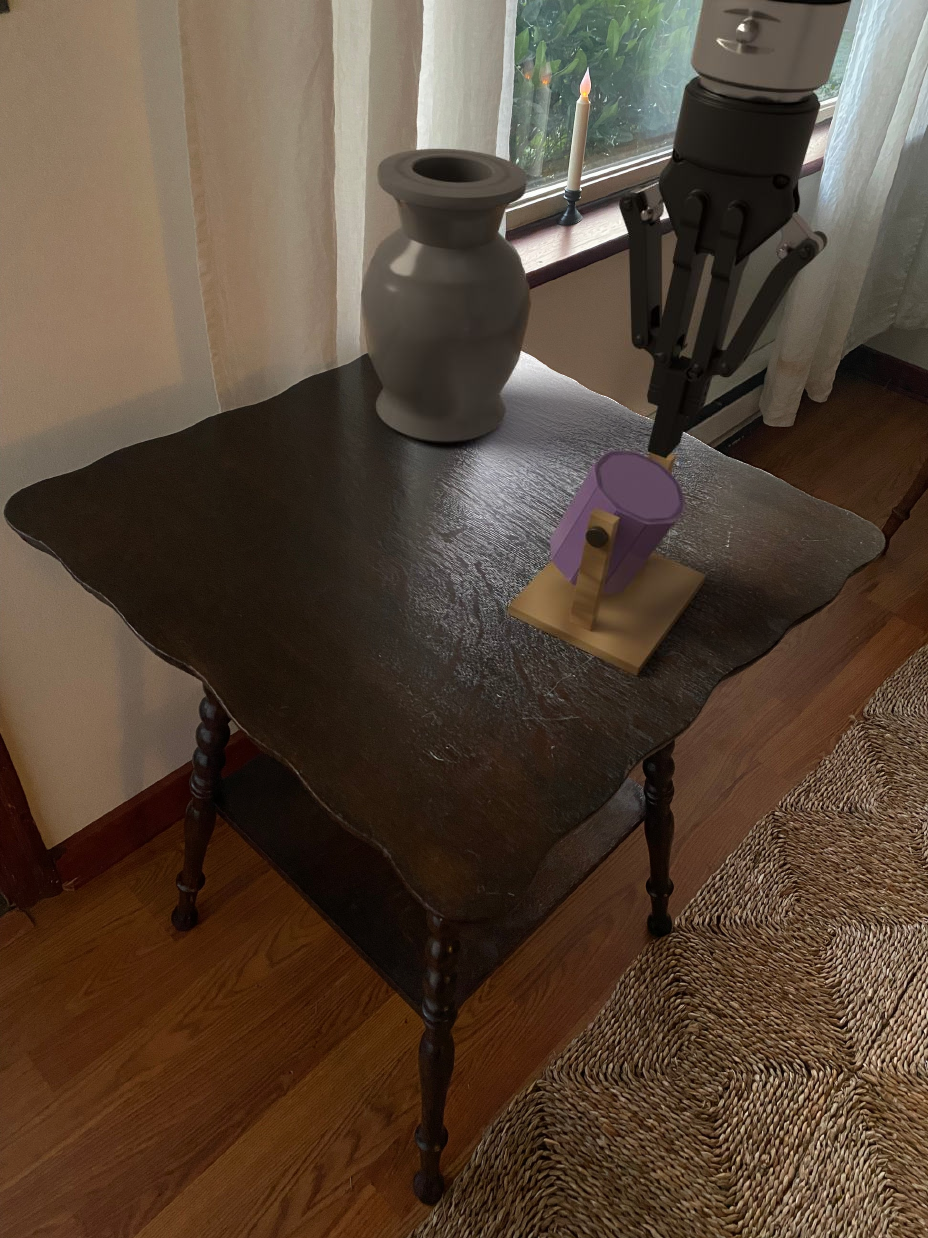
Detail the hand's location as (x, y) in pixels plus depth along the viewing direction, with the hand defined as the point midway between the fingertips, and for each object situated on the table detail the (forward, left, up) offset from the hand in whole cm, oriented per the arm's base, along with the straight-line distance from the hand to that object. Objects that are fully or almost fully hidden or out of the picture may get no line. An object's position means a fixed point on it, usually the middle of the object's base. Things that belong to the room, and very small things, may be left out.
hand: (663, 446), depth 66 cm
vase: (+30, -16, -16) cm, 38 cm away
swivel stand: (+1, 0, -16) cm, 16 cm away
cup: (+1, 0, -4) cm, 4 cm away
